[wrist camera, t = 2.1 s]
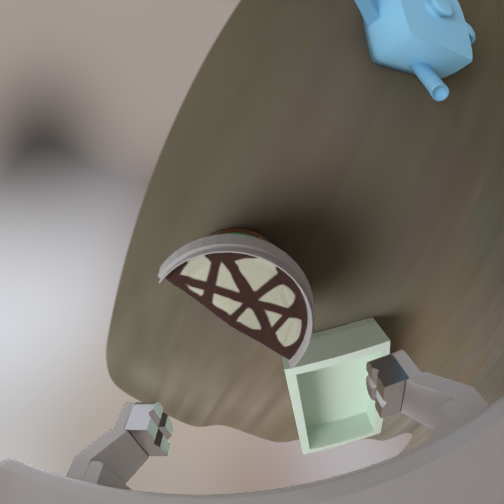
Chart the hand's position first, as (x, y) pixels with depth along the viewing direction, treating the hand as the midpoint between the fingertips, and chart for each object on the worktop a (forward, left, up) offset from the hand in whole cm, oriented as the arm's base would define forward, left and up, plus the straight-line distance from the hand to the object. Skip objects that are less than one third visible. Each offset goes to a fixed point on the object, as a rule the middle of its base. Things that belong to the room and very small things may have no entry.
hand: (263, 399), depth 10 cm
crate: (-6, +19, -19) cm, 27 cm away
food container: (0, 0, -19) cm, 19 cm away
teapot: (-20, -20, -19) cm, 34 cm away
